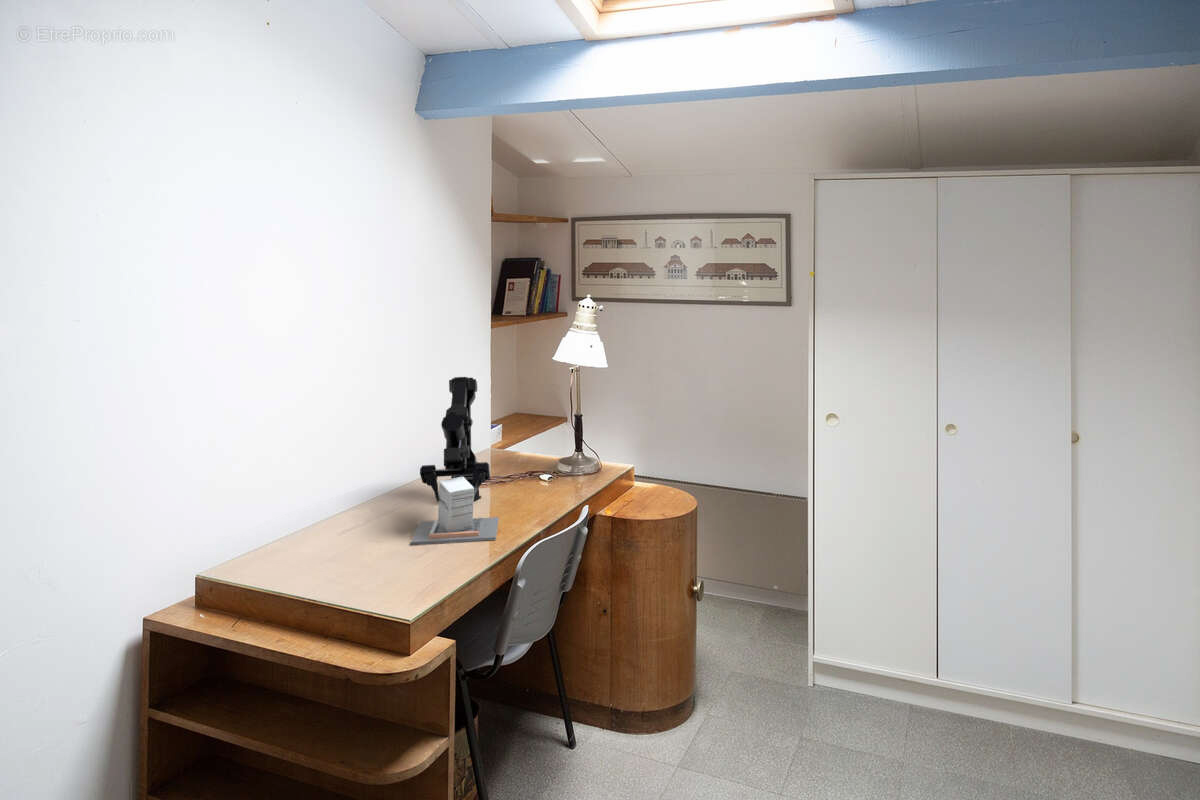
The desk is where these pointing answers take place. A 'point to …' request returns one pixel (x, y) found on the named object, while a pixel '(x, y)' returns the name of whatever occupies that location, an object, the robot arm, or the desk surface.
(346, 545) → the desk surface
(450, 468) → the robot arm
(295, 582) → the desk surface
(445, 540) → the rail stand
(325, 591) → the desk surface
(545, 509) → the desk surface
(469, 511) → the supplement box
